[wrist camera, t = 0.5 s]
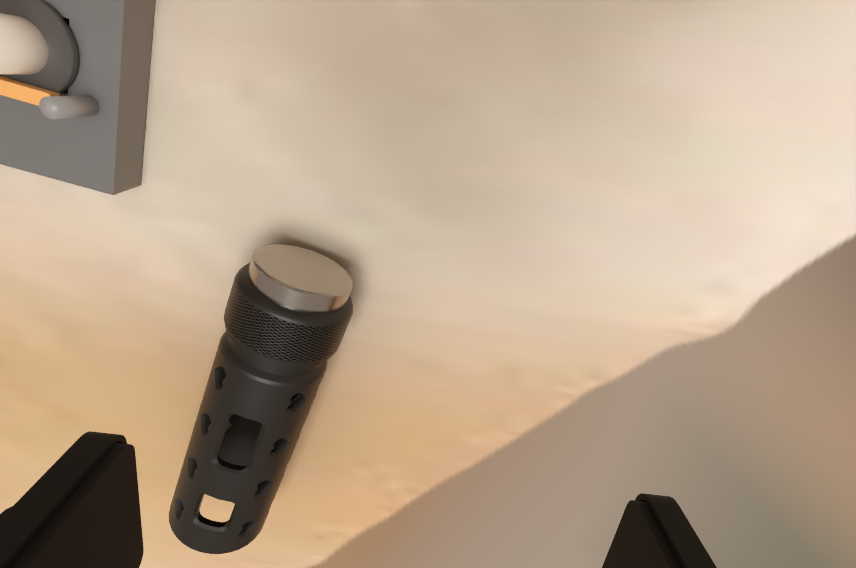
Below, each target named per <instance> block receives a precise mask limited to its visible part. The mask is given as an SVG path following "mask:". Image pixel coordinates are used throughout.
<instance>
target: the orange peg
mask: <svg viewBox="0 0 856 568" xmlns="http://www.w3.org/2000/svg"><path fill="white" fill-rule="evenodd" d="M0 95H3V96H6V97H10V98H13V99H17V100H20V101H24V102H27V103H31V104H34V105H37V106H39V102H40V100H41V99H42V98H43V97H50V96H60V93H56V92H53V91H50V90H46V89H43V88H39V87H36V86H33V85H29V84H26V83H22V82H19V81H15V80H12V79H9V78H5V77H2V76H0Z"/></svg>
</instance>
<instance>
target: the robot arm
mask: <svg viewBox="0 0 856 568" xmlns="http://www.w3.org/2000/svg"><path fill="white" fill-rule="evenodd" d="M142 556H143V539H142V527H141V516H140V504H139V493H138V481H137V470H136V458H135V449H134V447H133V445H130V444H127V442H126V438H125V437H124V436H123V435H116V434H107V433H99V432H87V433H85V434H84V435H82V436H81V437H80V438H79V439H78V440H77V441H76V442H75V443H74V444H73V445H72V446H71V447H70V448H69V449H68V450H67V451H66V452H65V453H64V454H63V455H62V456H61V458H60V459H59V460H58V461H57V462H56V463H55V464H54V465H53V466H52V467H51V468H50V469H49V470H48V471H47V472H46V473H45V474H44V475H43V476H42V477H41V478H40V479H39V480H38V481H37V482H36V483H35V484H34V485H33V486H32V487H31V488H30V489H29V490H28V491H27V492H26V493H25V495H24V496H23V497H22V498H21V499H20V500H19V501H18V502H17V503H16V504H15V505H14V506H12V507H10V508H8V509H6V510H5V511H4V512H2V513H1V514H0V568H139V566H140V564H141V560H142ZM602 568H716V566H715V564H714V563H713V561H712V559H711V558H710V556H709V554H708V553H707V551H706V550H705V548H704V546H703V545H702V543H701V541H700V540H699V538H698V536H697V535H696V533H695V531H694V530H693V528H692V527H691V525H690V523H689V521H688V520H687V518H686V517H685V515H684V513H683V512H682V510H681V508H680V507H679V505H678V504H677V502H676V501H675V500H674V499H673V498H671V497H668V496H659V495H651V494H639V495H638V496H637V498H636V499H635V501H629V503H628V504H627V506H626V509H625V511H624V514H623V516H622V519H621V521H620V524H619V526H618V529H617V531H616V534H615V537H614V539H613V541H612V544H611V546H610V549H609V552H608V554H607V557H606V559H605V562H604V564H603V567H602Z"/></svg>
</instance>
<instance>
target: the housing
mask: <svg viewBox="0 0 856 568" xmlns="http://www.w3.org/2000/svg"><path fill="white" fill-rule="evenodd" d="M43 1H45V2H46V3H48V4H49V5H50V6H52V7H53V8H54V9H55V10H56V11H57V12H58V13H59V14H60V15H61V16H62V17H64V18H68V19H69V28H70V30H71V31H72V33H73V36H74V38H75V41H76V44H77V48H78V54H79V65H78V71H77V74H76V77H75V79H74V81H73V83H72V84H71V85H70V86H69V88H68V89H66V90H65V91H64V92H62V93H60V96H50V97H43V98H42V99H41V100H40V102H39V106H37V105H34V104H31V103H27V102H24V101H20V100H17V99H13V98H10V97H6V96H3V95H0V164H2V165H6V166H9V167H13V168H17V169H20V170H24V171H28V172H31V173H35V174H39V175H42V176H46V177H49V178H53V179H57V180H60V181H64V182H68V183H71V184H75V185H79V186H82V187H86V188H89V189H93V190H97V191H100V192H104V193H108V194H111V195H115V194H117V193H120V192H123V191H126V190H128V189H131V188H134V187H137V186H139V185H141V177H142V164H143V151H144V139H145V126H146V113H147V100H148V87H149V75H150V62H151V49H152V36H153V23H154V11H155V0H43Z"/></svg>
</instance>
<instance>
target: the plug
mask: <svg viewBox="0 0 856 568" xmlns="http://www.w3.org/2000/svg"><path fill="white" fill-rule="evenodd" d="M78 65H79V54H78V48H77V44H76V41H75V38H74V36H73V33H72V31H71V30H70V28H69V24H67V23H66V21H65V20H64V19H63V18H62V16H61V15H60V14H59V13H58V12H57V11H56V10H55V9H54V8H53V7H52V6H50V5H49V4H48V3H46V2H45V1H43V0H0V76H2V77H5V78H9V79H12V80H15V81H19V82H22V83H26V84H29V85H33V86H36V87H39V88H43V89H46V90H50V91H53V92H56V93H62V92H64V91H65V90H66V89H68V88H69V86H70V85H71V84H72V83H73V81H74V79H75V77H76V74H77V71H78Z"/></svg>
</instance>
